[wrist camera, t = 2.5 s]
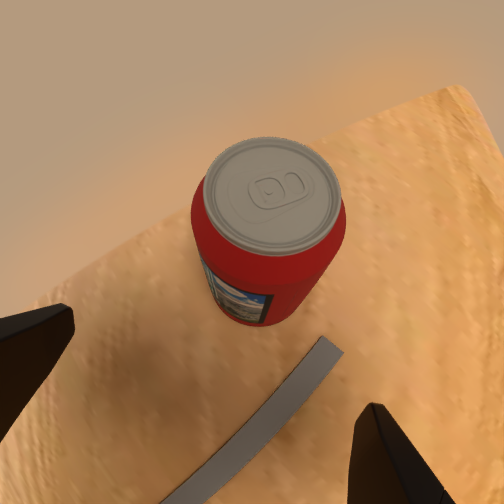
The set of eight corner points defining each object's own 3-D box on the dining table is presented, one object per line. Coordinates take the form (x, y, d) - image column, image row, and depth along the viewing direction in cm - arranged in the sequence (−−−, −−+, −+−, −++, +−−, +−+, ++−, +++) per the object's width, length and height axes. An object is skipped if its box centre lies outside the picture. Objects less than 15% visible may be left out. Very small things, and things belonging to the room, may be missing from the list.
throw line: (167, 530, 15) (166, 532, 15) (146, 514, 15) (145, 515, 15) (342, 353, 21) (344, 352, 21) (321, 336, 21) (322, 335, 21)
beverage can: (198, 258, 23) (165, 150, 12) (281, 228, 25) (309, 113, 14) (230, 343, 21) (219, 300, 10) (318, 307, 22) (389, 233, 11)
